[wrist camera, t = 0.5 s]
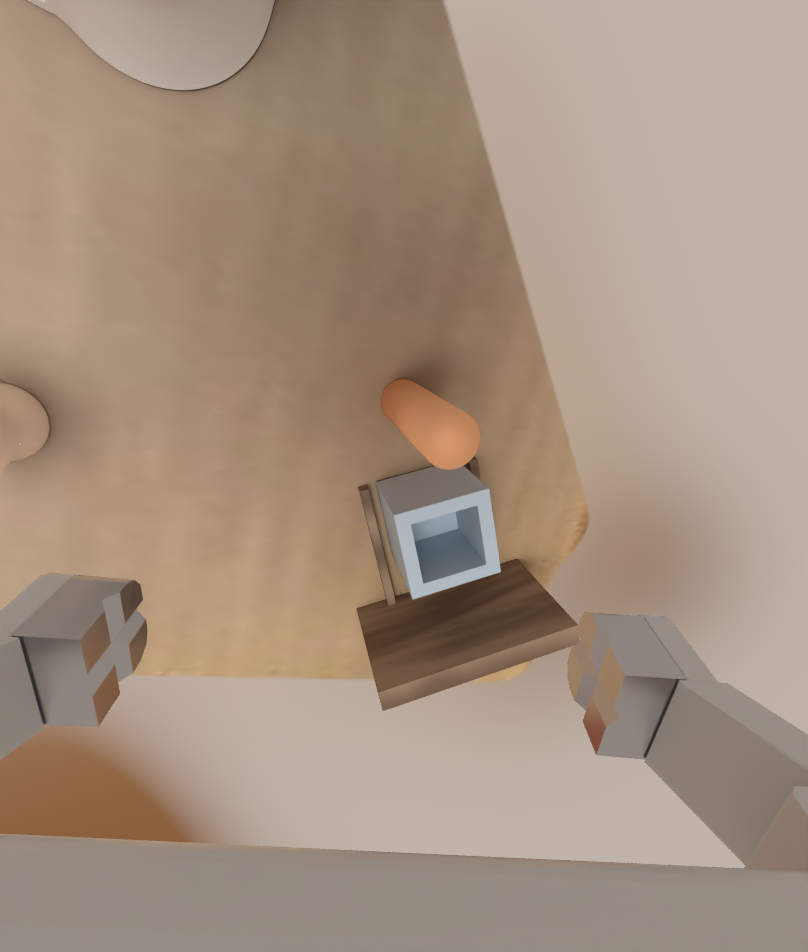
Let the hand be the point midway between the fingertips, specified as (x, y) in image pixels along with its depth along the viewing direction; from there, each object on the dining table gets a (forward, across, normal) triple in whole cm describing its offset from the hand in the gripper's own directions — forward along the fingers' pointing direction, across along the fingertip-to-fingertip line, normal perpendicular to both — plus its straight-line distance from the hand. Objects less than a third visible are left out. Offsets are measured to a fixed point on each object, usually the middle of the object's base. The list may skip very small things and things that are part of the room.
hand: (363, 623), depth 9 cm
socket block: (+36, -5, +16) cm, 40 cm away
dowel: (+37, -2, +6) cm, 37 cm away
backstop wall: (+36, -6, +20) cm, 42 cm away
